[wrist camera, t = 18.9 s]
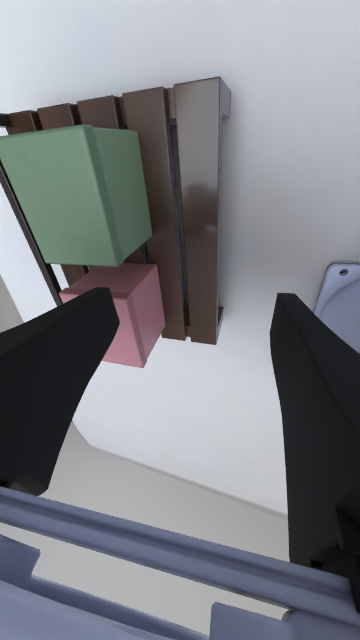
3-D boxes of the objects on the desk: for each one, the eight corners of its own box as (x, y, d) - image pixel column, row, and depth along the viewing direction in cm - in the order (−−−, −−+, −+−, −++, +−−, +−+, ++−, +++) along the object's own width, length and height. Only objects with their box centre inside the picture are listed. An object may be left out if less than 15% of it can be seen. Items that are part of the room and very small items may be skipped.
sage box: (138, 128, 12) (81, 124, 9) (154, 236, 16) (117, 268, 12) (66, 138, 14) (-11, 137, 10) (94, 236, 17) (44, 264, 13)
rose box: (157, 263, 17) (125, 299, 13) (166, 325, 20) (143, 369, 16) (102, 260, 18) (57, 293, 14) (118, 319, 21) (86, 359, 18)
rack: (231, 90, 13) (212, 65, 9) (223, 317, 23) (212, 362, 18) (47, 119, 17) (-33, 111, 12) (106, 305, 26) (72, 340, 22)
